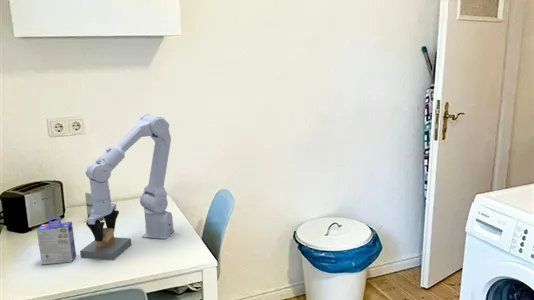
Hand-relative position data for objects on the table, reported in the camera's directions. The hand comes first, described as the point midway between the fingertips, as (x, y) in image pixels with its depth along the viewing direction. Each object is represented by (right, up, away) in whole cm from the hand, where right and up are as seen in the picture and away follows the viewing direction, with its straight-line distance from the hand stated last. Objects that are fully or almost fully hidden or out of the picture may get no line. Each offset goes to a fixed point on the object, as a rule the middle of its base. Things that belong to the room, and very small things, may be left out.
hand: (105, 236), depth 159 cm
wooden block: (0, -3, +1) cm, 3 cm away
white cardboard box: (-13, +1, +32) cm, 34 cm away
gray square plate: (0, -6, +1) cm, 6 cm away
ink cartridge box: (-14, -7, -4) cm, 16 cm away
